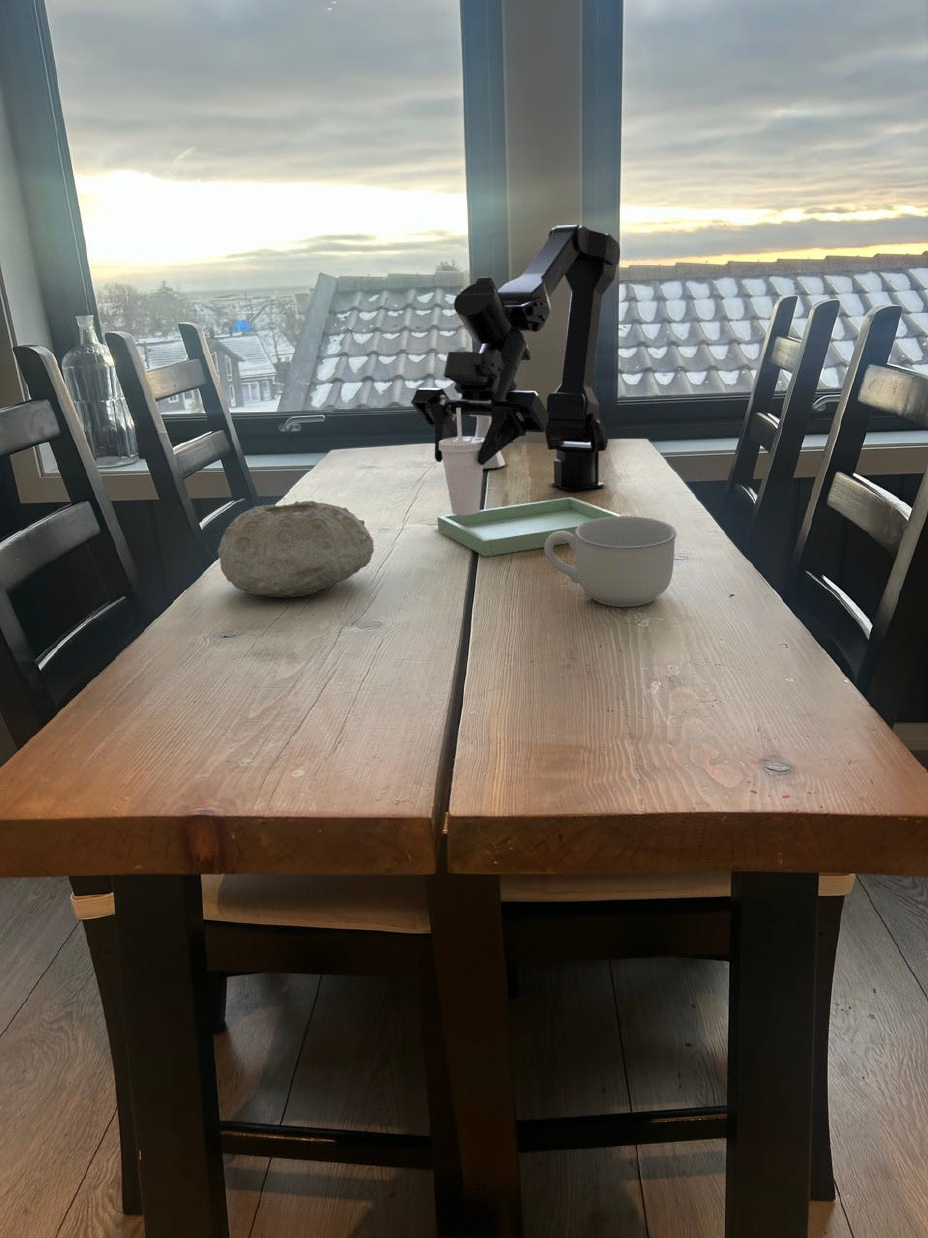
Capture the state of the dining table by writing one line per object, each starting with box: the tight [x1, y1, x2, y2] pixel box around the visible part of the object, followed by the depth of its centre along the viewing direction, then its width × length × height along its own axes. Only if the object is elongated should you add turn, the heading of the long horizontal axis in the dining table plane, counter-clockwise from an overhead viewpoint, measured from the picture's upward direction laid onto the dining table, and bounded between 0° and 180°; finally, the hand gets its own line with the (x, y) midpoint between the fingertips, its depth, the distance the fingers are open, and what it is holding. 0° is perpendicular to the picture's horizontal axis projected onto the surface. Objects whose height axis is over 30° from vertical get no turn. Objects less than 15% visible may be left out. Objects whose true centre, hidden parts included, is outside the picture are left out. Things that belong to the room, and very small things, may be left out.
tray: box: [437, 496, 623, 558], centre depth 138 cm, size 22×16×2 cm
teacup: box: [543, 515, 677, 608], centre depth 109 cm, size 14×11×8 cm
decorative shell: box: [216, 500, 375, 598], centre depth 117 cm, size 18×18×10 cm
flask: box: [474, 416, 506, 470], centre depth 183 cm, size 7×7×10 cm
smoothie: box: [439, 408, 484, 515], centre depth 133 cm, size 6×6×14 cm
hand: (458, 461), depth 132 cm, fingers closed on smoothie, 6 cm apart
